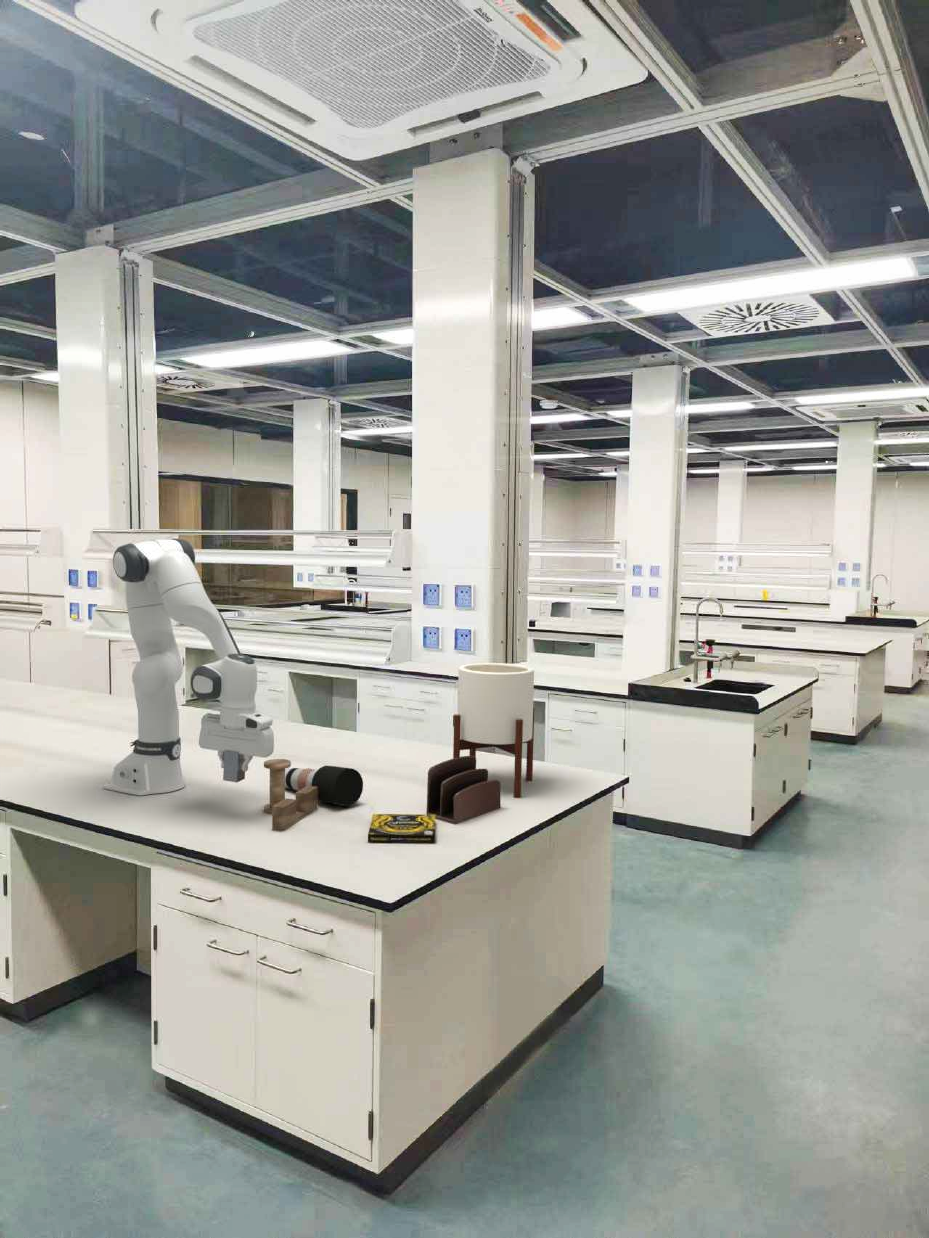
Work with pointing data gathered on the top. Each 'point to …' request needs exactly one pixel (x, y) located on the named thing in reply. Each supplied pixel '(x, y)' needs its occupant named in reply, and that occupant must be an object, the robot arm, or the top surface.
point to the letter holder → (460, 790)
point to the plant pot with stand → (496, 712)
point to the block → (233, 766)
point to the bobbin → (276, 781)
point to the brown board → (294, 808)
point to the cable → (328, 783)
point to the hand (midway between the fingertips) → (234, 769)
